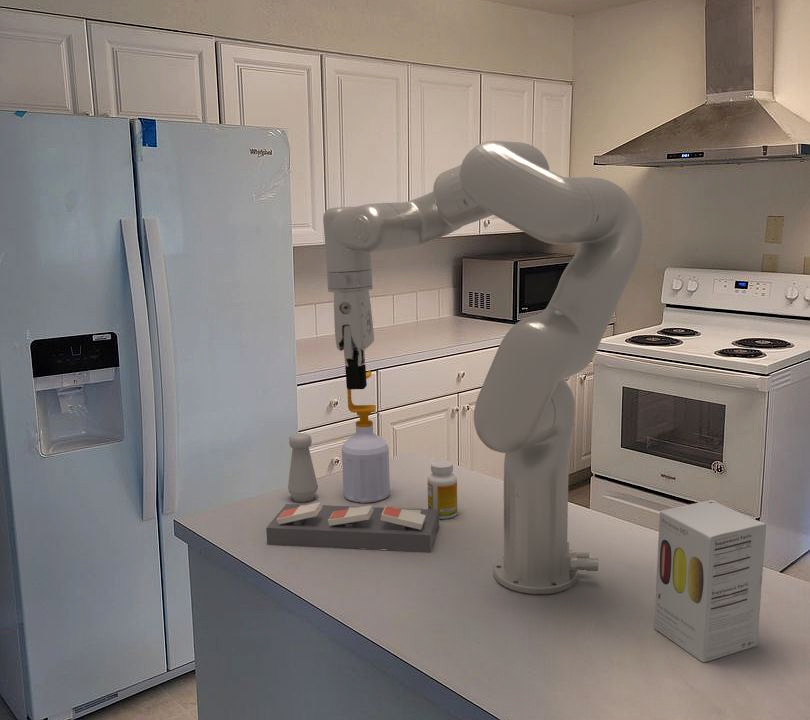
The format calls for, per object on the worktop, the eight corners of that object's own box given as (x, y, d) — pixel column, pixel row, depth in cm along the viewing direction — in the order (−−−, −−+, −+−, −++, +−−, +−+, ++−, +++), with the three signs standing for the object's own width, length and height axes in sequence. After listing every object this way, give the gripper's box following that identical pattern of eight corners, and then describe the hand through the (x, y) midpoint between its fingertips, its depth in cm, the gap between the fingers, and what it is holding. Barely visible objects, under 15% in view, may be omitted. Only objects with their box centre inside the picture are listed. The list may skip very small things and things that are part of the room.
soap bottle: (389, 503, 155) (385, 377, 150) (341, 504, 155) (336, 378, 150) (390, 486, 164) (387, 367, 159) (345, 487, 164) (340, 368, 159)
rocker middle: (373, 510, 139) (372, 504, 139) (368, 519, 135) (367, 513, 135) (335, 516, 141) (333, 510, 140) (329, 525, 137) (327, 519, 136)
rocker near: (424, 520, 138) (425, 514, 138) (421, 529, 134) (422, 523, 134) (384, 510, 139) (385, 504, 139) (380, 519, 135) (381, 513, 135)
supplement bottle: (462, 511, 150) (462, 461, 148) (448, 521, 145) (447, 470, 144) (437, 506, 153) (436, 457, 151) (422, 516, 148) (421, 465, 146)
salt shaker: (304, 491, 163) (301, 428, 160) (324, 497, 159) (321, 433, 156) (282, 499, 158) (278, 435, 156) (302, 506, 155) (299, 440, 152)
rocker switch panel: (439, 525, 144) (438, 506, 143) (430, 552, 133) (430, 531, 132) (287, 519, 148) (285, 500, 148) (267, 544, 138) (265, 523, 137)
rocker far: (322, 507, 141) (320, 501, 140) (316, 516, 137) (314, 510, 137) (285, 515, 142) (283, 509, 142) (278, 524, 138) (276, 518, 138)
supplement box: (651, 628, 108) (656, 509, 105) (704, 613, 112) (710, 497, 109) (704, 664, 100) (711, 536, 96) (760, 646, 103) (768, 522, 100)
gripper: (363, 284, 129) (370, 397, 132) (379, 277, 143) (385, 378, 146) (317, 286, 130) (325, 398, 133) (338, 278, 144) (344, 379, 147)
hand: (356, 388), depth 140 cm, fingers closed
